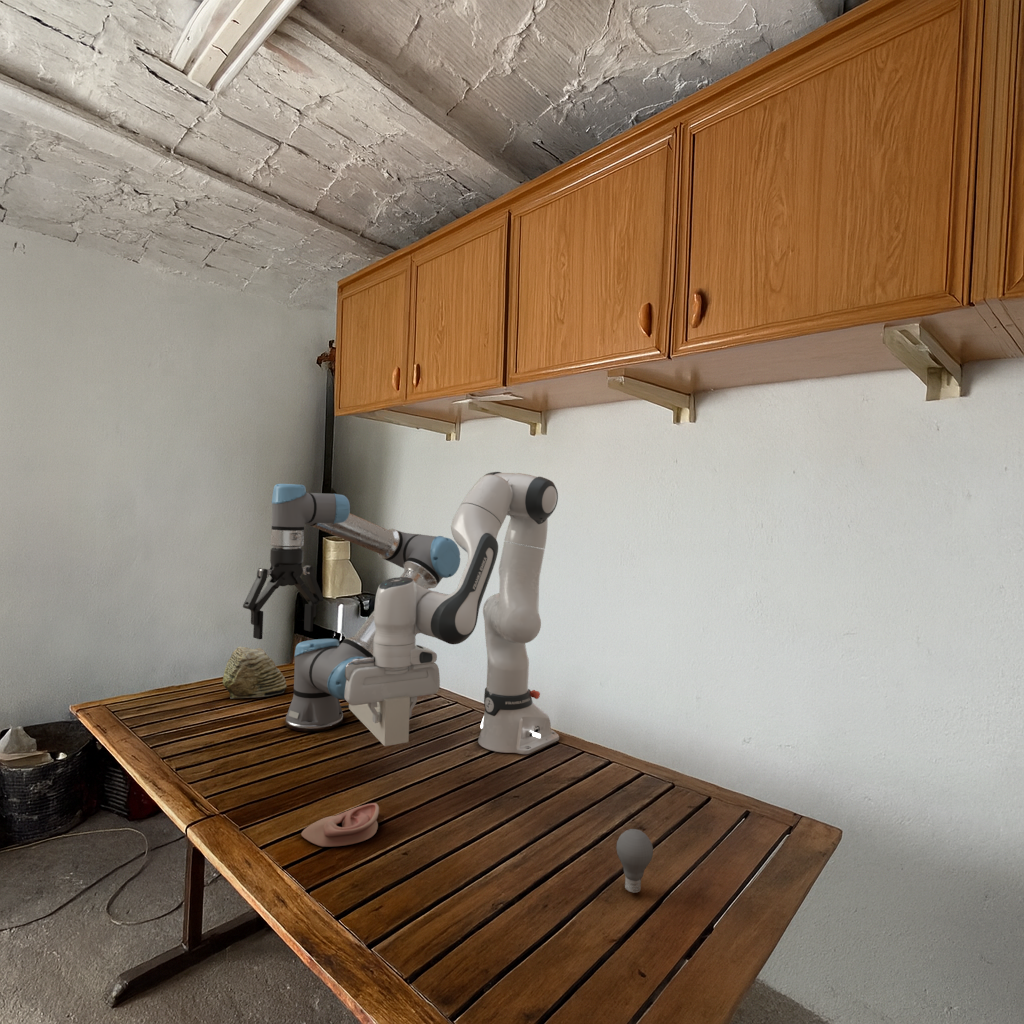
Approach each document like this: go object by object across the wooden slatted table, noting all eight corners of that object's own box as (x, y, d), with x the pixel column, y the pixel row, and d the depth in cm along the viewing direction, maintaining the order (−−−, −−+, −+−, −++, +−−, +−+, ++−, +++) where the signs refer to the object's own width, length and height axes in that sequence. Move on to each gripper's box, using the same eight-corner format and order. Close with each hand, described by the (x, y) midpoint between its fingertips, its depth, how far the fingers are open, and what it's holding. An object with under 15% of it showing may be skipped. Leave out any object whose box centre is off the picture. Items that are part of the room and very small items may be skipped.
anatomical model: (293, 820, 116) (324, 792, 127) (292, 842, 116) (323, 812, 127) (360, 831, 113) (386, 801, 124) (359, 853, 113) (385, 821, 124)
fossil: (218, 695, 195) (220, 647, 195) (278, 685, 208) (279, 640, 207) (228, 703, 189) (230, 653, 188) (289, 692, 201) (290, 645, 201)
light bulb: (610, 879, 108) (613, 822, 108) (644, 879, 109) (647, 822, 109) (619, 902, 102) (622, 840, 102) (655, 901, 103) (658, 840, 103)
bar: (348, 708, 153) (349, 669, 152) (370, 705, 155) (371, 667, 155) (384, 746, 130) (386, 700, 130) (408, 742, 133) (410, 697, 133)
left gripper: (246, 550, 142) (242, 644, 142) (339, 547, 161) (336, 629, 162) (229, 547, 146) (226, 638, 147) (322, 544, 166) (319, 625, 166)
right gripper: (350, 663, 126) (348, 732, 126) (443, 653, 137) (441, 717, 137) (341, 656, 132) (339, 722, 132) (432, 647, 142) (430, 708, 142)
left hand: (283, 634), depth 154 cm, fingers open, 13 cm apart
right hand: (392, 719), depth 135 cm, fingers closed on bar, 5 cm apart
